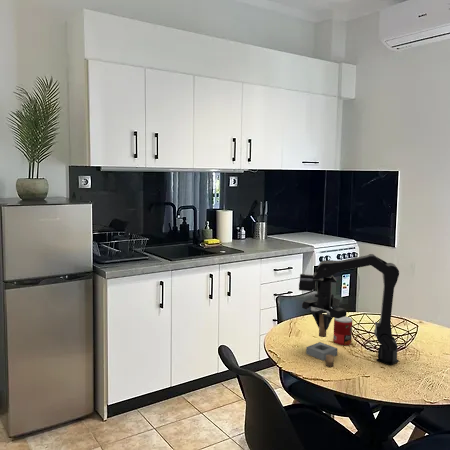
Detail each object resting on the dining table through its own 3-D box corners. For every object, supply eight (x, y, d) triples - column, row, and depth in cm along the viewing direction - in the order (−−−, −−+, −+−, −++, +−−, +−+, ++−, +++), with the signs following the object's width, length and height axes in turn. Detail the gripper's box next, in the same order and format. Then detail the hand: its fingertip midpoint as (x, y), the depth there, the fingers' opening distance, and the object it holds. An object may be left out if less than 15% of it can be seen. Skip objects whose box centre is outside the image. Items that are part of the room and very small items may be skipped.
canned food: (347, 347, 205) (348, 322, 204) (330, 342, 210) (331, 318, 209) (354, 342, 211) (355, 318, 210) (337, 337, 216) (338, 314, 215)
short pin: (335, 366, 185) (335, 356, 185) (330, 368, 183) (330, 358, 183) (328, 363, 188) (329, 353, 187) (324, 365, 186) (324, 355, 185)
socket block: (337, 355, 196) (337, 348, 196) (323, 360, 190) (323, 353, 190) (319, 348, 203) (320, 342, 202) (306, 353, 197) (306, 346, 197)
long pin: (327, 336, 195) (328, 314, 194) (323, 337, 193) (323, 316, 192) (321, 334, 197) (322, 313, 196) (317, 335, 195) (318, 314, 194)
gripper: (355, 293, 191) (353, 330, 193) (318, 284, 205) (317, 319, 207) (338, 298, 184) (337, 336, 186) (301, 288, 198) (300, 324, 200)
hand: (322, 328), depth 195 cm, fingers closed on long pin, 3 cm apart
